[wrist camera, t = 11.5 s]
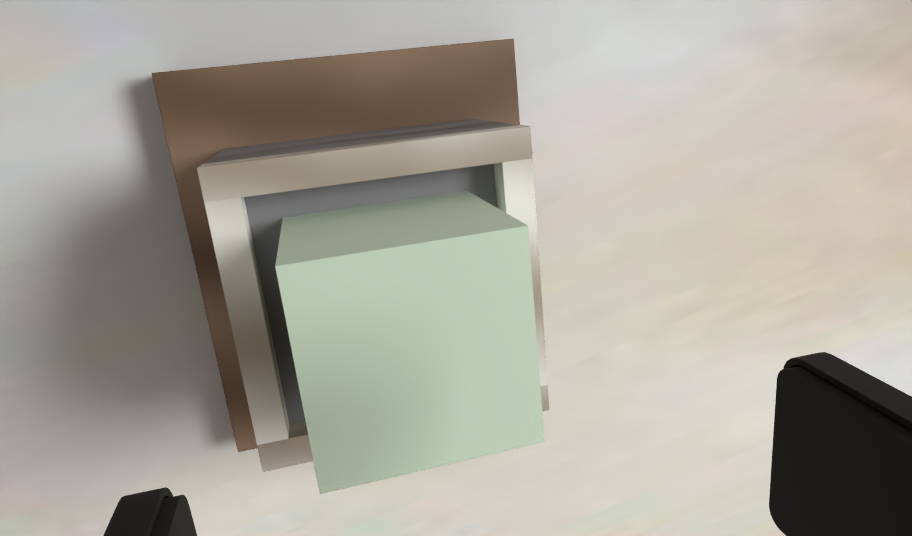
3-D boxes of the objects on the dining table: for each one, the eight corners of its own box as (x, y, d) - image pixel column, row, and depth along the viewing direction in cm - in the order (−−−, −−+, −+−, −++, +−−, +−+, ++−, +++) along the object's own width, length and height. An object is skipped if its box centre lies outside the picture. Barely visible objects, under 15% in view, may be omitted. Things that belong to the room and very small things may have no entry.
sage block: (282, 217, 20) (275, 266, 14) (467, 190, 21) (528, 225, 15) (314, 389, 22) (319, 494, 16) (484, 356, 23) (544, 442, 17)
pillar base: (160, 74, 25) (92, 64, 17) (502, 41, 27) (585, 19, 19) (241, 435, 29) (218, 562, 21) (528, 376, 32) (603, 470, 24)
